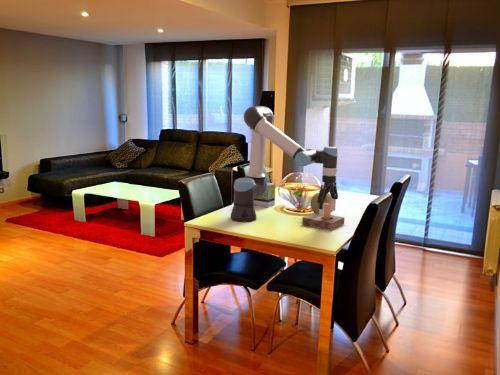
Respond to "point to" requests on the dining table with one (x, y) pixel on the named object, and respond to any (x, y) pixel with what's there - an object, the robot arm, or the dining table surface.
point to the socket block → (323, 221)
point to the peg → (327, 211)
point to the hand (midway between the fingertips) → (327, 212)
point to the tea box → (266, 197)
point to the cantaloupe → (316, 205)
